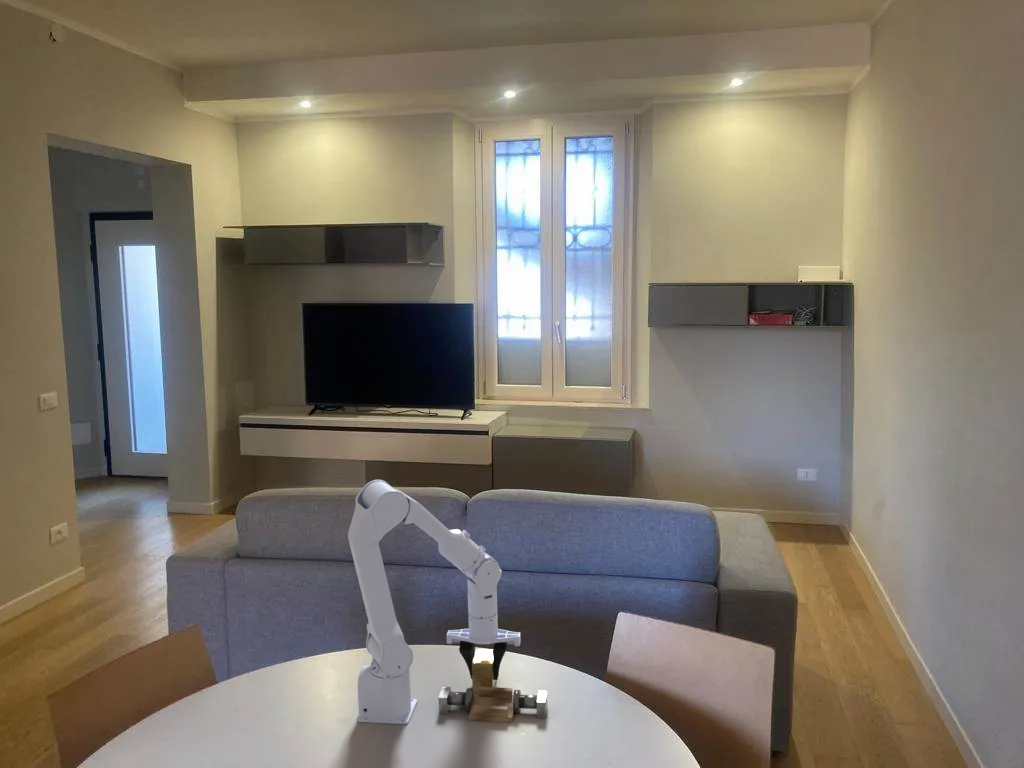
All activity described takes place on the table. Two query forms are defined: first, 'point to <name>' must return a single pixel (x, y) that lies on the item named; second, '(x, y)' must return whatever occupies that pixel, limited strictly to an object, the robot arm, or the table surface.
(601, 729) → the table surface
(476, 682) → the block
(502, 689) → the shaft stand
